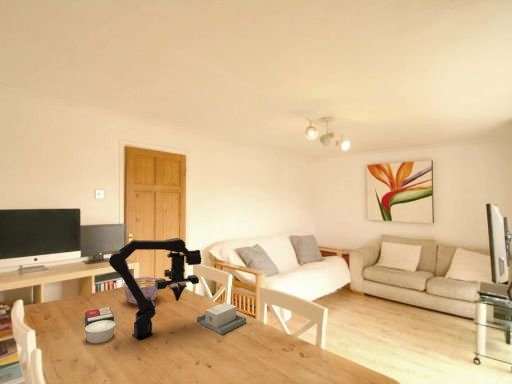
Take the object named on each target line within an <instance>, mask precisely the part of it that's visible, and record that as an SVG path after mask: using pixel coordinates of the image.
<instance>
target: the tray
mask: <svg viewBox="0 0 512 384" xmlns="http://www.w3.org/2000/svg"><path fill="white" fill-rule="evenodd" d="M205 318H206V313H204V314H202V315H200V316H199V315H198V316H197V317H196V323H197V324H199V325H201V326H203V327H205V328H207V329H209V330H211V331H213V332H215V333H217V334H219V335H220V336H223V335H225V334H227V333H229V332H232V331H234V330H235V328H236V329H238V328H239V326H240V327H241V325H242V326H243V324H244V325H246V324H247V317H244V316H242V315H240V314H237V313H236V319H235V320H233V321H231V322H228V323H226V324H224V325H222V326H220V327H218V328H215V327H213V326H211V325H209V324H207V323H205ZM245 323H246V324H245ZM237 327H238V328H237ZM233 329H234V330H233Z"/></svg>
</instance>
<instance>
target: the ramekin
mask: <svg viewBox="0 0 512 384" xmlns="http://www.w3.org/2000/svg"><path fill="white" fill-rule="evenodd" d="M115 327H116V322H115V321H114V322H113V321H110V320H103V321H97V322H94V323H91V324H89V325H88V326H87V327H86V326H85V328H84V332H85V336H86V341H87V342H88V343H89V344H101V343H105V342H107V341H109V340H110V339H112V337H113V336H114V335H113V334H114V332H115Z"/></svg>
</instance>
